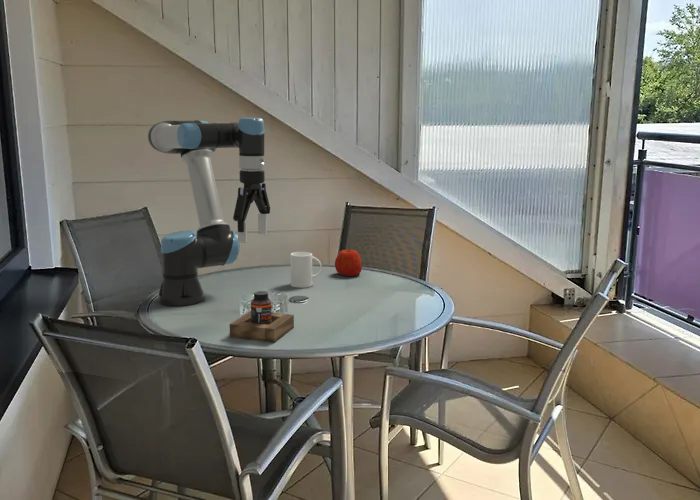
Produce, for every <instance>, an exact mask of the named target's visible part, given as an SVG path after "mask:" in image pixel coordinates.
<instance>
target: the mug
mask: <svg viewBox="0 0 700 500" xmlns="http://www.w3.org/2000/svg"><path fill="white" fill-rule="evenodd" d="M313 261H316V262H318V264H319V266H320V269H319V271H318V272H317V273H316V274H315V273H314V274H313ZM322 269H323V268H322V262H321V261H320V260H319V259H318V258H317V257H315V256H314V255H313V253H312V252H308V251H295V252H291V253H290V284H289V286H291V287H292V288H297V289H299V288H300V289H303V288H305V289H307V288H311V287H312V286H314V283H313V279H314V278H317V277H318V276H319V275H320V274H321V272H322Z"/></svg>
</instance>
